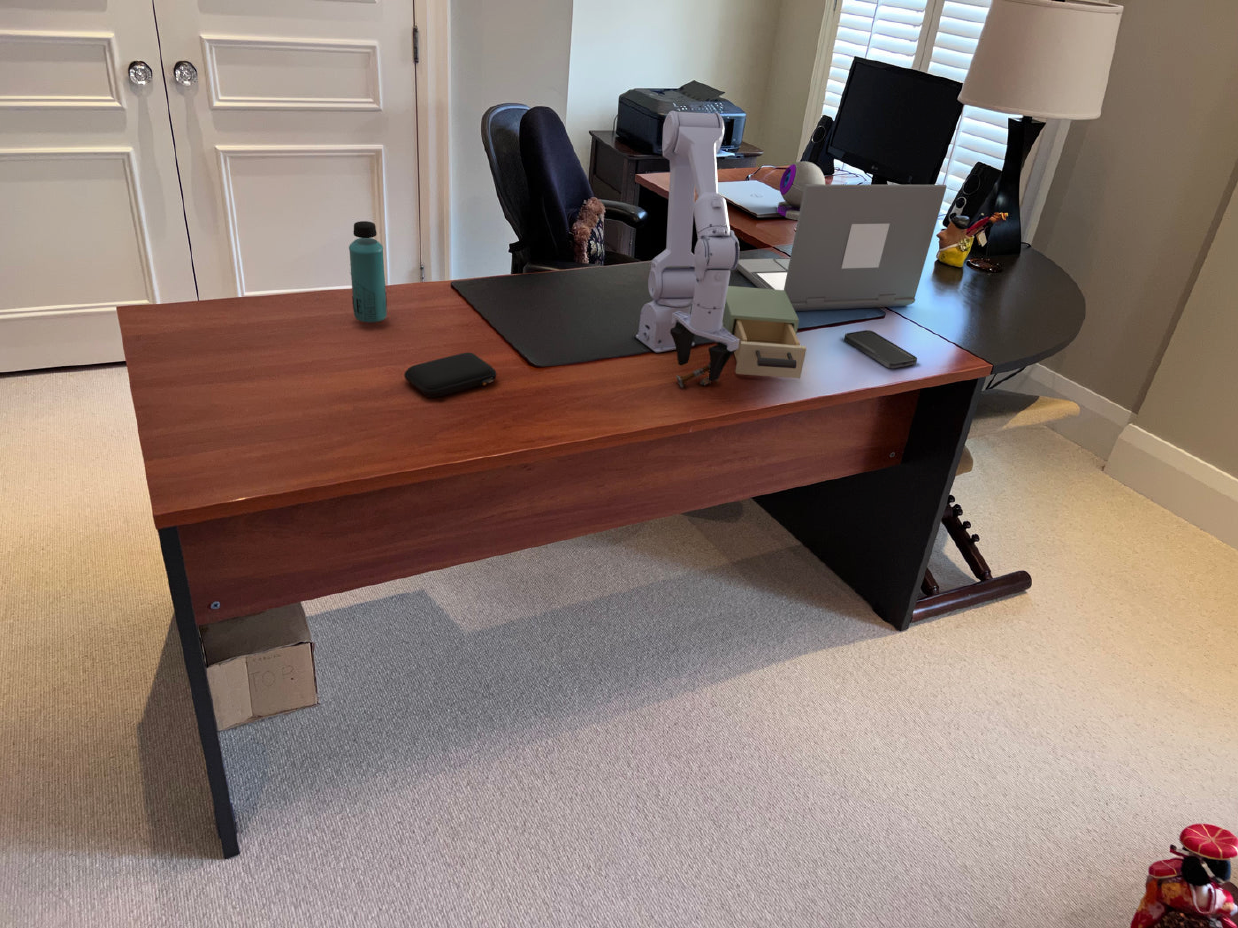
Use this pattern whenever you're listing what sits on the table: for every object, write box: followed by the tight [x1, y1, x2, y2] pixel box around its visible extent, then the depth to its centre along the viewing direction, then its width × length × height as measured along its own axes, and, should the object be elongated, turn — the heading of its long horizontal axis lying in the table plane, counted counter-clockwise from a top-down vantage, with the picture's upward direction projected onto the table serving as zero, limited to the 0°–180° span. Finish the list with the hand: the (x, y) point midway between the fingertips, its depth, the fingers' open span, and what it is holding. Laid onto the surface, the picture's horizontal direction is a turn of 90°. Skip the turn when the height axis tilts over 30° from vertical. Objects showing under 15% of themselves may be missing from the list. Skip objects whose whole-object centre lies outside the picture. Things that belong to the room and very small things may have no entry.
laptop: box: [735, 183, 948, 312], centre depth 210 cm, size 35×26×28 cm
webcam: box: [776, 160, 826, 221], centre depth 264 cm, size 13×13×15 cm
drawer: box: [732, 319, 807, 379], centre depth 175 cm, size 20×12×6 cm, turn 2°
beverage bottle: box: [348, 220, 388, 323], centre depth 172 cm, size 6×7×20 cm
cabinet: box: [722, 285, 800, 335], centre depth 187 cm, size 16×14×8 cm
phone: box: [843, 329, 918, 370], centre depth 189 cm, size 8×1×15 cm
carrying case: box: [403, 352, 498, 399], centre depth 159 cm, size 11×3×15 cm
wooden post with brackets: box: [675, 361, 720, 388], centre depth 168 cm, size 2×8×4 cm, turn 106°
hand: (698, 371), depth 167 cm, fingers open, 7 cm apart
